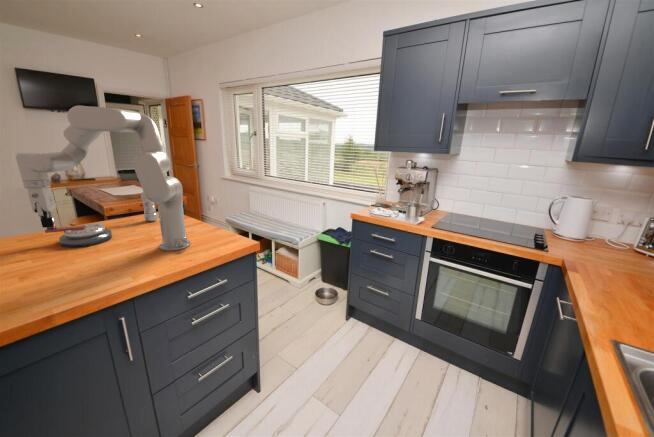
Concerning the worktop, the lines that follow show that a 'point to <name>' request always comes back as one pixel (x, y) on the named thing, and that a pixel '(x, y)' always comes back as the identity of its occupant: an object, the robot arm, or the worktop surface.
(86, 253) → the worktop surface
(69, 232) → the crank handle wheel
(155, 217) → the plastic bottle
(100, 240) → the gray plate
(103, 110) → the robot arm
